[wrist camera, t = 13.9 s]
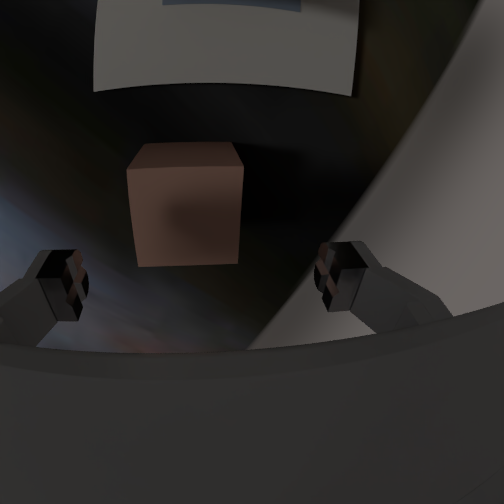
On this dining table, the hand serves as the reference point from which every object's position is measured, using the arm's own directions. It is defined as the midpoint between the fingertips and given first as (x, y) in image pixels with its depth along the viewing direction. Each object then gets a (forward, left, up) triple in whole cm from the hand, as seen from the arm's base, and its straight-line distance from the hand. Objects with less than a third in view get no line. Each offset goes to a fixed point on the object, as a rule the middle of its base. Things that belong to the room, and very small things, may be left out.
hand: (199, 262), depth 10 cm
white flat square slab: (+13, -1, -9) cm, 16 cm away
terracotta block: (-1, +1, -9) cm, 9 cm away
